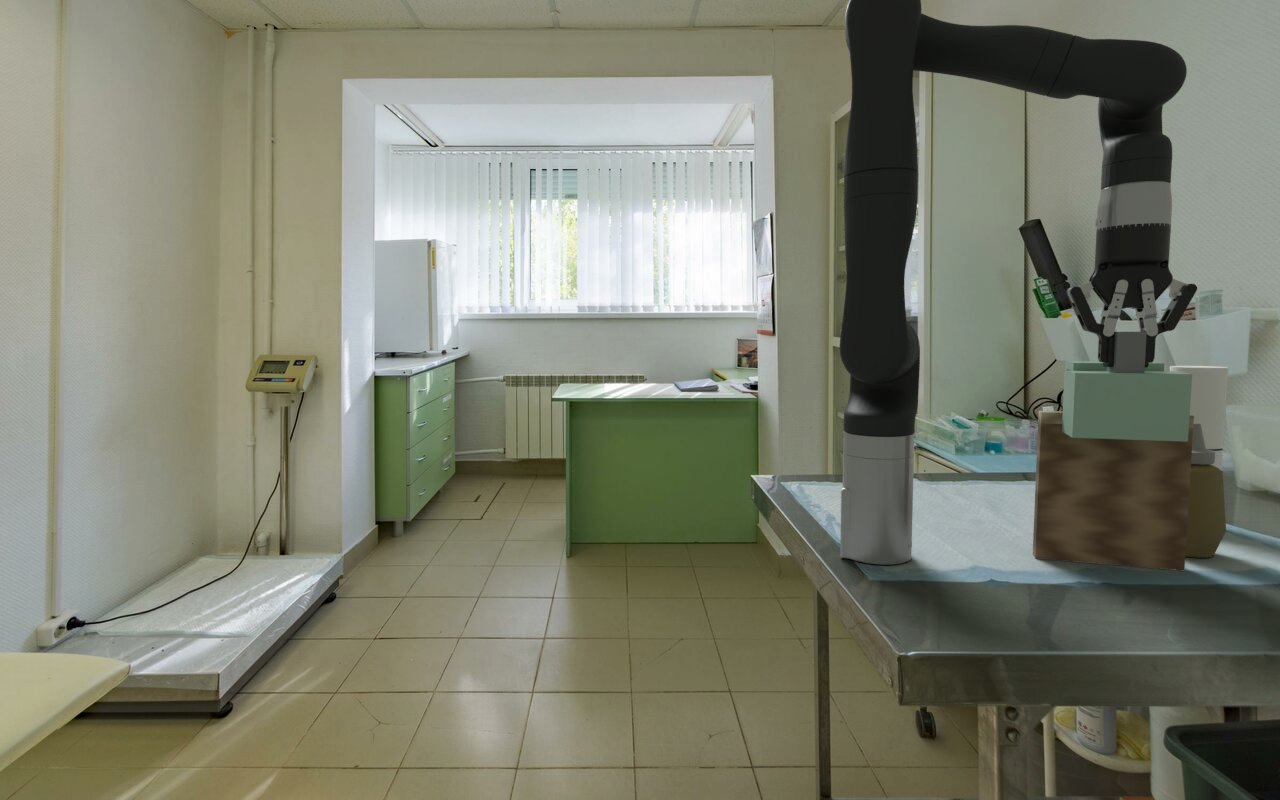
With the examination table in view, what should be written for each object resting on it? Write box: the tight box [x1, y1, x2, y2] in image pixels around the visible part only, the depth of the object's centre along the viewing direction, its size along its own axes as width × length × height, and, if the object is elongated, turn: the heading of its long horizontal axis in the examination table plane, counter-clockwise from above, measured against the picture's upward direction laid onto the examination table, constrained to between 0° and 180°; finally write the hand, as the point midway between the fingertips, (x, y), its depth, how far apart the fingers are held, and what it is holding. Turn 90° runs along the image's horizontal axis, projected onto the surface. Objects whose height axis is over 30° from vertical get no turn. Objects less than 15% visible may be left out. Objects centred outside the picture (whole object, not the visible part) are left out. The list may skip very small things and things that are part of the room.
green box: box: [1062, 331, 1192, 442], centre depth 92 cm, size 12×11×13 cm
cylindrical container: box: [1169, 365, 1229, 471], centre depth 112 cm, size 7×7×25 cm
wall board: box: [1032, 410, 1194, 571], centre depth 98 cm, size 17×7×20 cm, turn 71°
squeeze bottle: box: [1185, 423, 1227, 559], centre depth 99 cm, size 8×8×18 cm
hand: (1125, 366), depth 89 cm, fingers closed on green box, 3 cm apart
